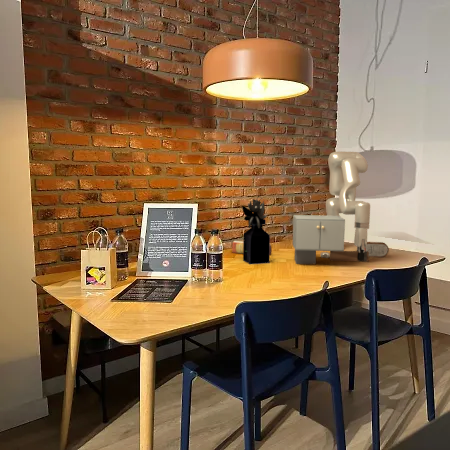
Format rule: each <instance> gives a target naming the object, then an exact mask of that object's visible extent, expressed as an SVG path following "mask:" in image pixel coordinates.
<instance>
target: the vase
mask: <svg viewBox="0 0 450 450" xmlns="http://www.w3.org/2000/svg"><path fill="white" fill-rule="evenodd" d="M259 197H261V198H260V199H259V200H258V198H259ZM260 200H263V198H262V195H258V196H257V197H256V198H255V199H252V200H250V201H249V202H248V203H247V207H246V206H244V205H242V206H241V209H242V213H244V215H245V216H244V218H243V220H244V221H248V230H247V231H245V232H244V233H243V255H242V261H243V262H245V263H247V264H249V265H261V264H263V265H264V264H270V255H271V254H270V244H271V239H270V238H271V235H270V234H269V233H268V232H267V231H265V229H264V228H263V225H266V219H265V218H267V217H268V215H266V214H265V202H264V200H263V201H260ZM264 214H265V215H264ZM269 254H270V255H269Z"/></svg>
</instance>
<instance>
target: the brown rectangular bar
mask: <svg viewBox="0 0 450 450" xmlns="http://www.w3.org/2000/svg"><path fill="white" fill-rule="evenodd" d="M358 252H359V251H357V250H344V251H329V253H330V258H329V261H333V262H334V261H341V262H347V261H348V262H369V258H370V257H369V252H368V251H364V260H358Z"/></svg>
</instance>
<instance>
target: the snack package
mask: <svg viewBox="0 0 450 450" xmlns="http://www.w3.org/2000/svg"><path fill="white" fill-rule="evenodd" d="M243 241H244V240H243ZM243 241H242V240H233V241H232V244H231V245H232V246H231V251H232V253H233V254H243ZM271 254H272V245H271V243H270V254H269V256H270V255H271Z"/></svg>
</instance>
